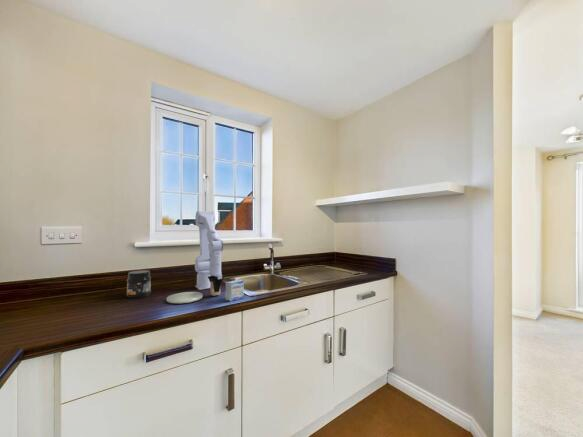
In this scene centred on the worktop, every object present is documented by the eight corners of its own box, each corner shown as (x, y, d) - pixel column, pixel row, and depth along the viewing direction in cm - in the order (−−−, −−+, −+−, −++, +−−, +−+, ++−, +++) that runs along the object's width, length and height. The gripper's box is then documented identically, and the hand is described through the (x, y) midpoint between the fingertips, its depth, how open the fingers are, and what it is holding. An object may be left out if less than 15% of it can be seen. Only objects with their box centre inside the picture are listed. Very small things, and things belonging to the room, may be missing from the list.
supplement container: (122, 296, 123) (122, 272, 124) (143, 291, 133) (143, 269, 133) (134, 299, 118) (134, 274, 119) (155, 294, 128) (155, 271, 128)
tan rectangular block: (210, 293, 125) (210, 282, 125) (217, 292, 128) (218, 280, 128) (212, 295, 122) (212, 283, 122) (220, 294, 124) (220, 282, 124)
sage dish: (164, 298, 120) (164, 295, 120) (198, 293, 130) (198, 290, 130) (169, 307, 107) (169, 303, 107) (206, 300, 116) (206, 297, 116)
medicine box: (231, 302, 115) (231, 283, 115) (225, 300, 117) (225, 282, 118) (244, 298, 121) (244, 280, 121) (238, 296, 124) (238, 279, 124)
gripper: (203, 262, 129) (203, 288, 128) (211, 266, 117) (211, 295, 117) (217, 261, 133) (216, 287, 133) (226, 265, 121) (226, 293, 121)
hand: (215, 290), depth 125 cm, fingers closed on tan rectangular block, 4 cm apart
